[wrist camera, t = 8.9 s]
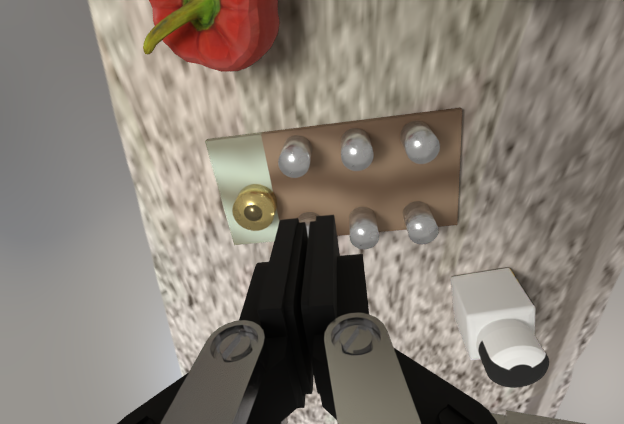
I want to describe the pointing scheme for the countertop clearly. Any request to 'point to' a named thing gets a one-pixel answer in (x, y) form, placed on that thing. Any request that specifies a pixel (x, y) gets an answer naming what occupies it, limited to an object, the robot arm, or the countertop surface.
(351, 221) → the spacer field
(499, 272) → the medicine bottle
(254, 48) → the vegetable
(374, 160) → the board
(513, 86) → the countertop surface
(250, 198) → the brass knob
